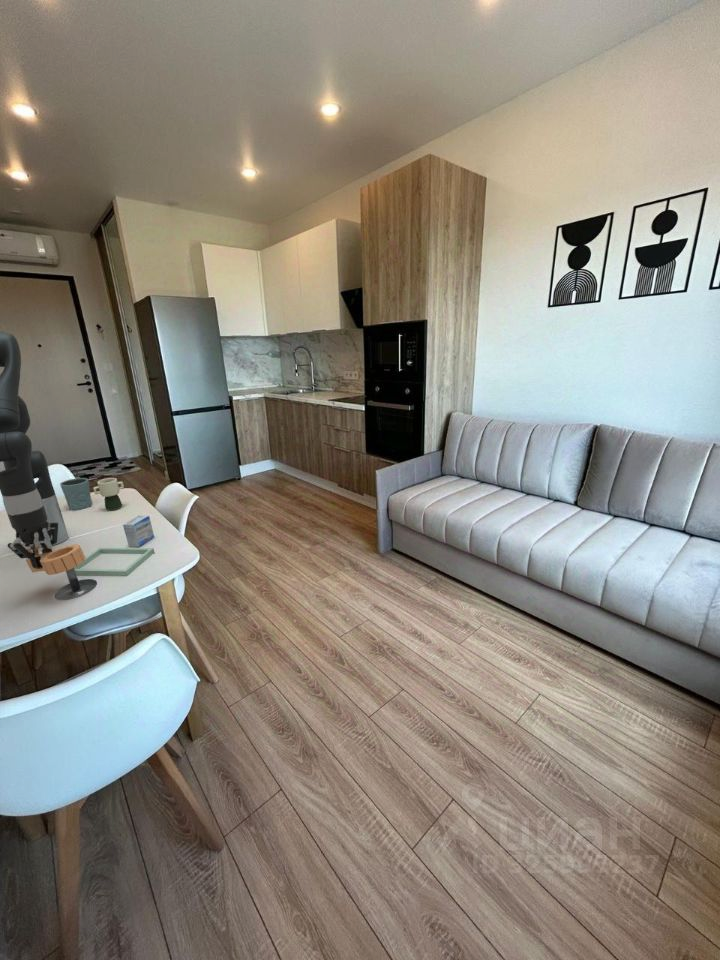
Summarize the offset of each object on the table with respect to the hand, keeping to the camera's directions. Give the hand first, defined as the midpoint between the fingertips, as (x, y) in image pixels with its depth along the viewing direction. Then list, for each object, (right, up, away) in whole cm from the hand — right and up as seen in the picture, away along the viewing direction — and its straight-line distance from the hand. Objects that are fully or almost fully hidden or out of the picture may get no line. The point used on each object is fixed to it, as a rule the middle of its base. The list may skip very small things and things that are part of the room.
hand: (44, 564), depth 108 cm
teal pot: (-36, +11, +65) cm, 75 cm away
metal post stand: (+7, -8, +2) cm, 11 cm away
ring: (+4, -1, 0) cm, 4 cm away
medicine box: (+10, +1, +31) cm, 32 cm away
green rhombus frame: (+10, -4, +15) cm, 18 cm away
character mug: (-20, +11, +62) cm, 66 cm away
